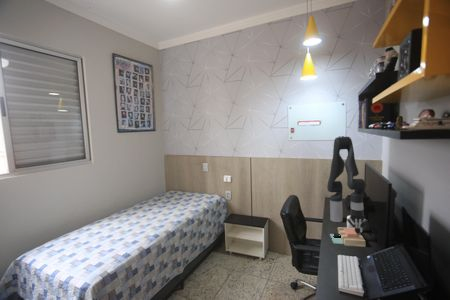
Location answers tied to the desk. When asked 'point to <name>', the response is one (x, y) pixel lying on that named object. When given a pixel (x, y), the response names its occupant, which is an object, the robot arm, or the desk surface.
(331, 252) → the desk surface
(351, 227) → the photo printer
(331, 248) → the desk surface
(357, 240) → the deck
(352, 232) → the card
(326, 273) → the desk surface
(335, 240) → the mat
